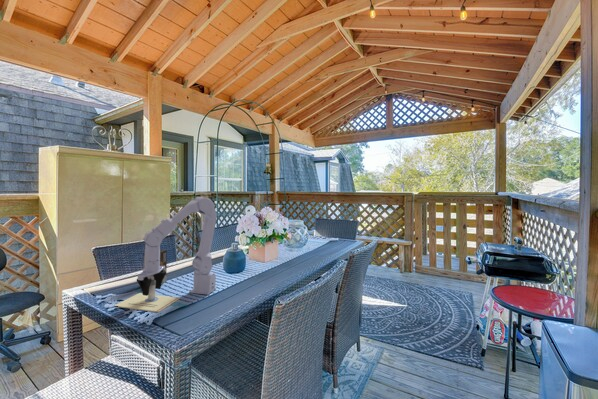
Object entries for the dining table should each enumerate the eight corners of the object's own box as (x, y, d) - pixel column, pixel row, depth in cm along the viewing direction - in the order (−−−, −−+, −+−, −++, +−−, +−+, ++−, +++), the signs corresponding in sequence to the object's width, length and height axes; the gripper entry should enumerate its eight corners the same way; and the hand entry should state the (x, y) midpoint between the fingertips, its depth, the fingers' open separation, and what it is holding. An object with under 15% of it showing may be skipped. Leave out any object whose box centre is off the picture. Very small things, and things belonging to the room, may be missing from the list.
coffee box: (155, 280, 147) (156, 249, 146) (166, 281, 146) (167, 250, 145) (142, 286, 138) (142, 253, 137) (154, 287, 137) (154, 254, 136)
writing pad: (180, 298, 125) (180, 297, 125) (158, 312, 111) (158, 311, 111) (139, 293, 129) (139, 292, 129) (114, 306, 115) (114, 305, 115)
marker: (157, 298, 123) (157, 280, 123) (152, 301, 120) (152, 282, 120) (150, 297, 124) (151, 279, 123) (146, 300, 121) (146, 281, 120)
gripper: (155, 255, 129) (154, 285, 130) (131, 263, 115) (130, 297, 115) (169, 256, 128) (169, 286, 128) (146, 265, 113) (146, 299, 114)
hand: (151, 291), depth 122 cm, fingers open, 7 cm apart
